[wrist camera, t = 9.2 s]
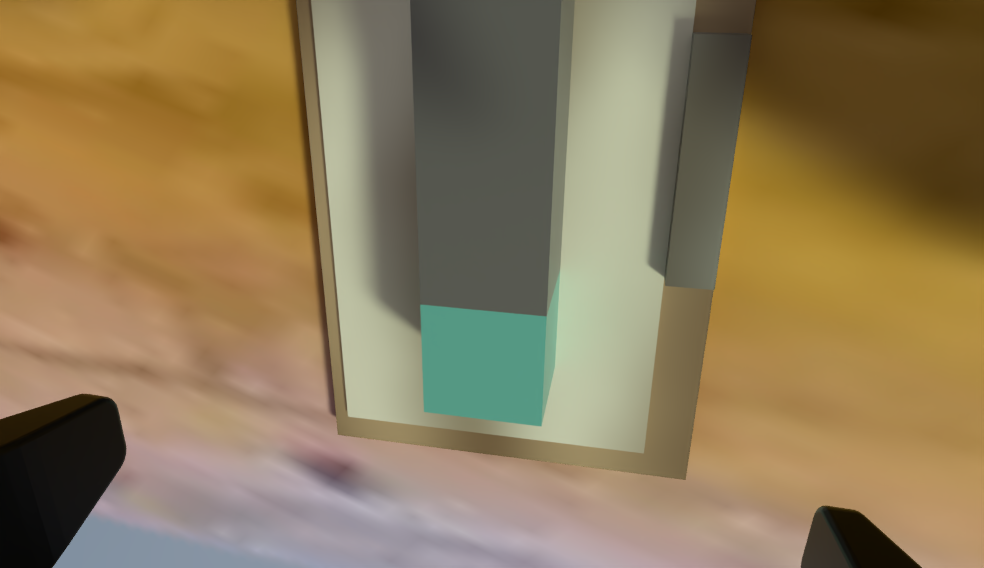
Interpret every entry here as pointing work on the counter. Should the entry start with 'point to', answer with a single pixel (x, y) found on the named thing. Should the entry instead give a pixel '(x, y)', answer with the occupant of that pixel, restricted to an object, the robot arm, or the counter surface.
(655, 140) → the cream flat piece
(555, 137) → the dark gray rectangular block
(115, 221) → the counter surface
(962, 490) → the counter surface
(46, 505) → the robot arm
